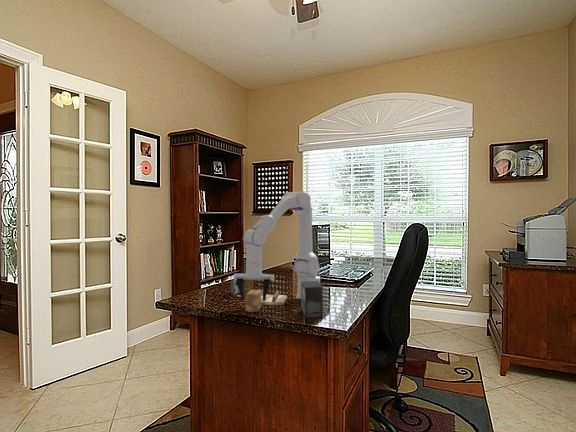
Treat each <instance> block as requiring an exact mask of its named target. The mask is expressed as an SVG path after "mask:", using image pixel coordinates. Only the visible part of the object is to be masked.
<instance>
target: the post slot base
mask: <svg viewBox="0 0 576 432" xmlns="http://www.w3.org/2000/svg"><path fill="white" fill-rule="evenodd" d="M287 298H288V295H285V294H280V291H279V290H276V291H275V292H274V294H267V295H266V300H265V301H263V290H261V306H264V305H269V306H284V304H285V302H286V300H287Z"/></svg>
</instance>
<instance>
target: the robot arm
mask: <svg viewBox="0 0 576 432" xmlns="http://www.w3.org/2000/svg"><path fill="white" fill-rule="evenodd" d="M289 209H290V210H292V211H294V212H295V213H296V214H297V215H298V247H299V249H298V251H299V252H298V253H297V254H296V256H295V261H294V264H293V265H294V266H293V269H294V271H295V273H296V276H297V293H296V297H295V299H296V300H301V281H318V282H319V283H320V284H321V276H319V275H318V274H319V273H320V263H319V259H318V256H317V255H316V254H315V253H314V252H313V251H314V250H313V210H312V205H311V196H310V195H309V194H308V192H306V191H304V190H301V191H292V192H290V191H288V192H285V193H284V195H282V196H281V198H280V201H279V202H278V203H277V204H276V206H275V207H274V208H273V209H272V210H271V212H270V213H269V214H265V215H261V217H260V219H259V221H257V223H255V224H253V225H252V228H251V229H247V230H246V231H245V232H244V235H243V236H242V240H243V242H244V244H245V248H246V250H245V252H246V254H245V258H246V259H245V260H246V261H245V263H246V264H245V268H246V269H245V270H246V271H245V273H234V274H233V280H237V281H236V284H237V286H238V288H239V290H240V293H239V294H240V298H241V301H245V300H246V282H247V281H262V291H263V301H265V300H266V295H268V291H269V288H270V286H271V283H272V282H273V281H275V274H269V273H263V245H264V244H265V243H266V240H267V236H268V234H270V232H271V231H272V230H273V229H274V228H275V227H276V226H277V221H278V219H280V217H281V216H282V215H284V214H285V213H286V212H287V211H288V210H289Z"/></svg>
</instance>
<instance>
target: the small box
mask: <svg viewBox="0 0 576 432" xmlns="http://www.w3.org/2000/svg"><path fill="white" fill-rule="evenodd" d="M323 295H324V286H323V285H322V284H321V282H320V283H319V282H318V281H301V299H300V301H301V302H300V303H301V304H300V305H301V311H302V314H303V316H304V318H305V319H323V318H324V309H323V308H324V305H323V303H324V296H323Z"/></svg>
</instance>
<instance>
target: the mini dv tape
mask: <svg viewBox="0 0 576 432" xmlns="http://www.w3.org/2000/svg"><path fill="white" fill-rule="evenodd" d="M236 281H237V280H234V279H233V280H231V281H230V295H231V296H235V295H239V294H241V293H240V290H239V288H238V286H237V284H236Z"/></svg>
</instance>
